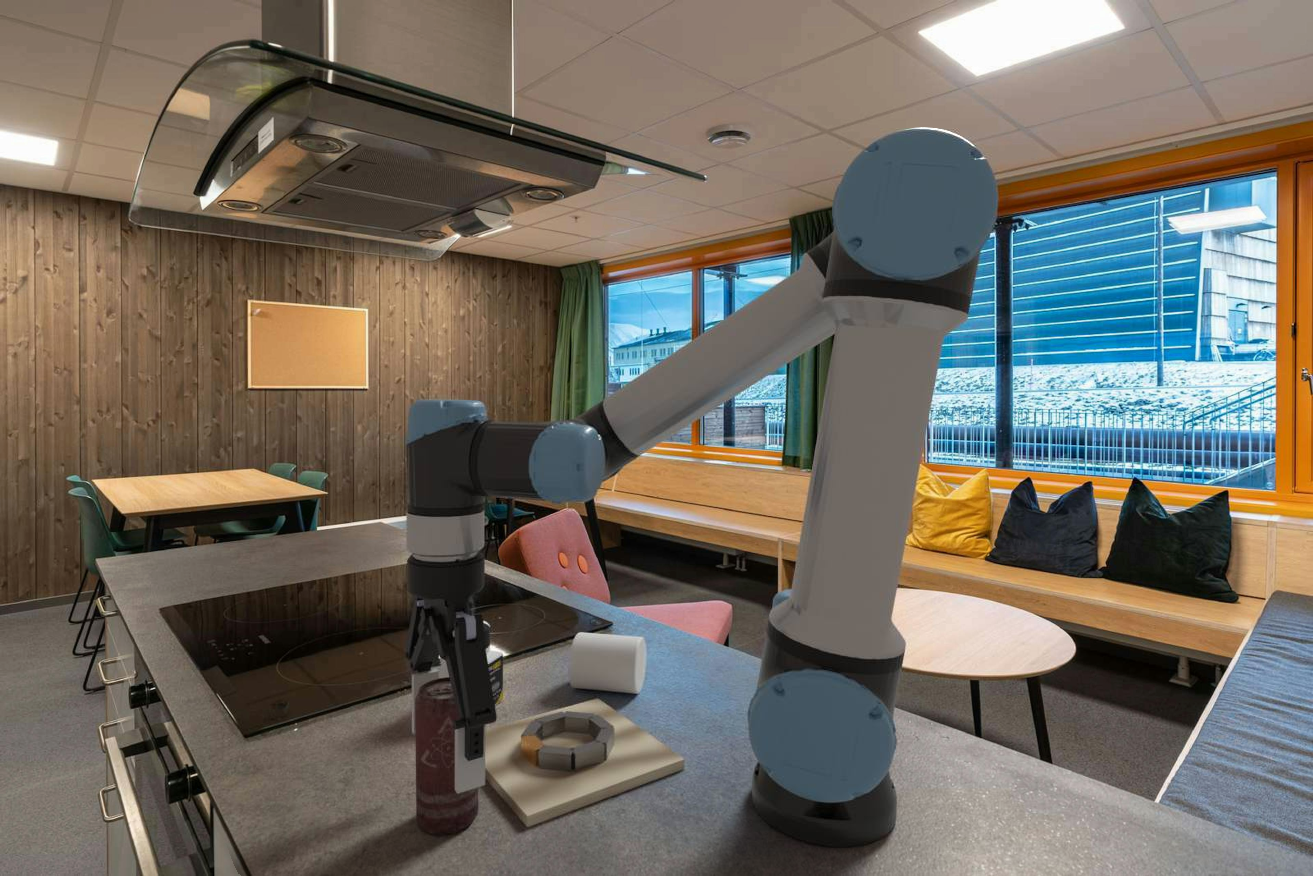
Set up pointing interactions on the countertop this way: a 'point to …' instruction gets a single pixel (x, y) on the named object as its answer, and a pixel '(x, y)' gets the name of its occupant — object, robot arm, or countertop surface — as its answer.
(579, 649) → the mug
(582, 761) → the socket
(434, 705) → the can
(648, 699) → the countertop surface
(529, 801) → the hub board
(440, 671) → the medicine bottle
